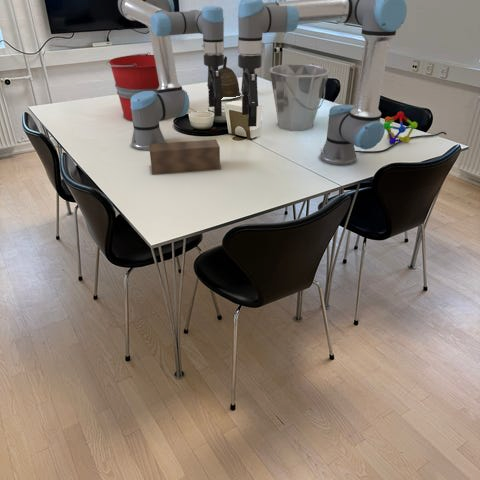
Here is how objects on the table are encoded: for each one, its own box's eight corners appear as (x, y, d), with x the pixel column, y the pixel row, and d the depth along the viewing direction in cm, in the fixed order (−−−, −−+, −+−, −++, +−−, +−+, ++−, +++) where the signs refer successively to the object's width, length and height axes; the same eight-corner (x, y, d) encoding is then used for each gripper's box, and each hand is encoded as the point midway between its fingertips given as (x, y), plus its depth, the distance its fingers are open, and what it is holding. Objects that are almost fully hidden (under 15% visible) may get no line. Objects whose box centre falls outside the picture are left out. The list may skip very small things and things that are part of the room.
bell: (227, 105, 294) (202, 96, 282) (238, 66, 289) (213, 55, 277) (243, 108, 280) (217, 98, 268) (255, 66, 275) (229, 55, 263)
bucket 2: (296, 138, 215) (301, 78, 201) (255, 124, 234) (256, 68, 219) (335, 125, 232) (342, 70, 217) (294, 113, 251) (297, 61, 236)
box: (216, 161, 190) (216, 139, 185) (220, 169, 183) (219, 146, 178) (151, 166, 185) (149, 143, 180) (152, 174, 178) (149, 151, 173)
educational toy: (377, 146, 209) (379, 114, 202) (384, 138, 219) (386, 107, 211) (411, 149, 202) (415, 116, 195) (417, 141, 212) (420, 109, 204)
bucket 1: (123, 106, 262) (116, 51, 247) (182, 106, 262) (178, 52, 246) (106, 123, 233) (97, 63, 217) (172, 124, 232) (168, 64, 216)
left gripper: (199, 48, 173) (201, 103, 184) (208, 60, 152) (210, 121, 163) (217, 48, 174) (219, 102, 185) (230, 59, 153) (230, 120, 165)
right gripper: (269, 61, 131) (266, 131, 142) (254, 47, 152) (253, 109, 163) (244, 61, 130) (243, 132, 141) (233, 48, 151) (233, 110, 162)
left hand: (215, 111), depth 174 cm, fingers open, 13 cm apart
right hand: (248, 120), depth 152 cm, fingers open, 13 cm apart
